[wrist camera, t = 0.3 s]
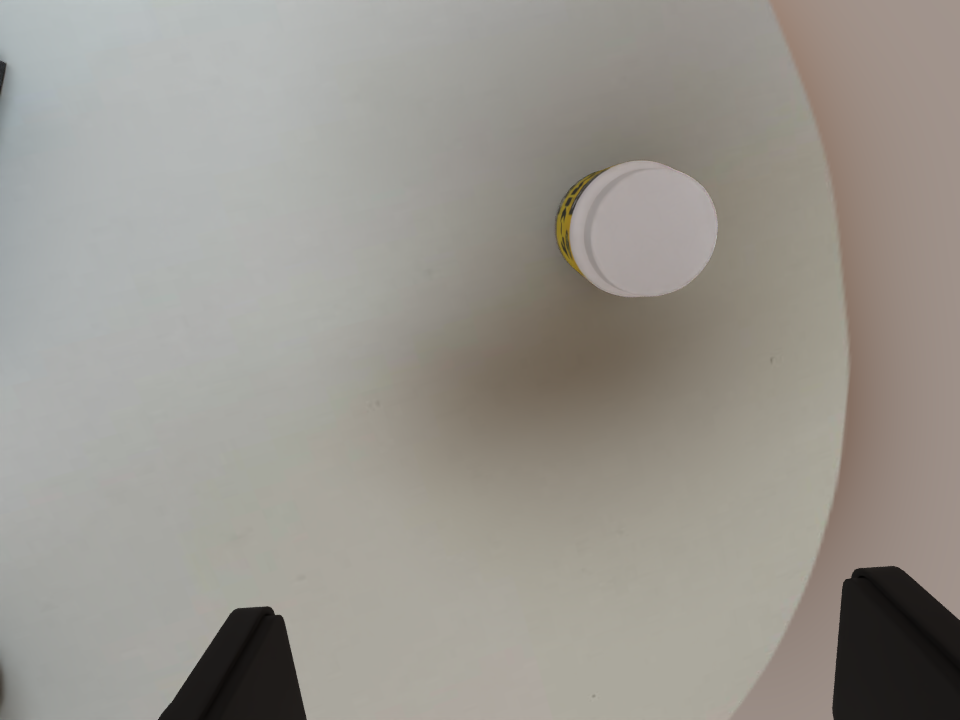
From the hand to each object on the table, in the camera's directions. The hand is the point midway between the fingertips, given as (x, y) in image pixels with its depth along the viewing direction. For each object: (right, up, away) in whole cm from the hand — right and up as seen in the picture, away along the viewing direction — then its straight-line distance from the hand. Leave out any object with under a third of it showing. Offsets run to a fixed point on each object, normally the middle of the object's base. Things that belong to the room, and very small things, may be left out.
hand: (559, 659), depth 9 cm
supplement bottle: (+4, +11, +16) cm, 20 cm away
